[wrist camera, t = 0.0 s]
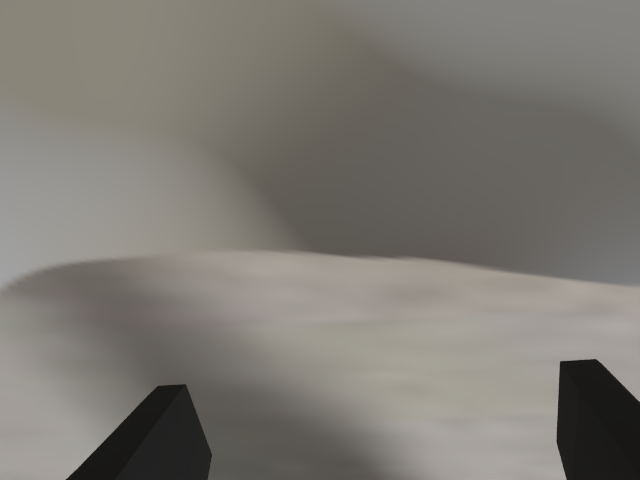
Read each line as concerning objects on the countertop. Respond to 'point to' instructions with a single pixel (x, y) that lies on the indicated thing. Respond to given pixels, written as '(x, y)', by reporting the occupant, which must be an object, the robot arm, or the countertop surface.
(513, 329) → the countertop surface
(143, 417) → the robot arm
